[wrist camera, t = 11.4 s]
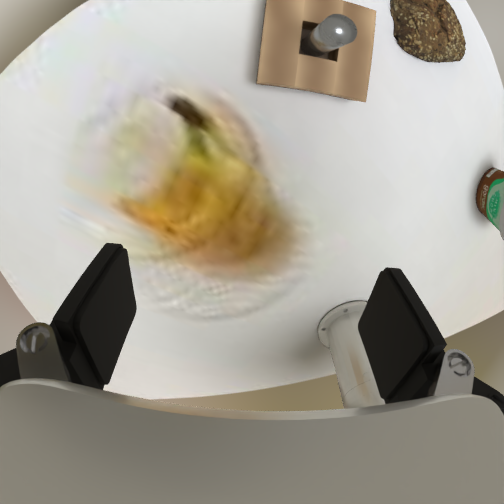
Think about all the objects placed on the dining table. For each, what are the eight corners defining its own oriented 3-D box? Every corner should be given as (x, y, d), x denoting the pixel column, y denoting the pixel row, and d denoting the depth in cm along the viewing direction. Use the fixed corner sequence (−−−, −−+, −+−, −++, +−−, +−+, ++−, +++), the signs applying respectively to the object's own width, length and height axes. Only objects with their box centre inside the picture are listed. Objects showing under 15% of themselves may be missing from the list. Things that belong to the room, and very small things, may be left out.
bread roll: (461, 68, 26) (482, 70, 22) (396, 58, 27) (415, 56, 23) (447, -4, 19) (466, -9, 15) (378, -21, 20) (394, -31, 16)
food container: (470, 166, 34) (510, 189, 26) (492, 159, 33) (531, 180, 24) (470, 229, 40) (502, 259, 32) (491, 220, 39) (523, 247, 30)
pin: (326, 38, 26) (358, 19, 16) (324, 59, 27) (355, 48, 18) (302, 33, 25) (324, 10, 16) (299, 55, 27) (321, 39, 18)
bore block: (360, 19, 24) (376, 10, 20) (351, 100, 31) (365, 102, 26) (266, -1, 24) (269, -14, 19) (256, 84, 30) (257, 82, 26)
